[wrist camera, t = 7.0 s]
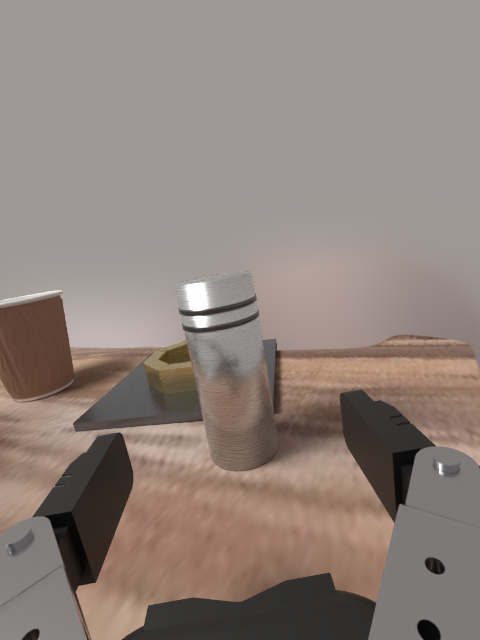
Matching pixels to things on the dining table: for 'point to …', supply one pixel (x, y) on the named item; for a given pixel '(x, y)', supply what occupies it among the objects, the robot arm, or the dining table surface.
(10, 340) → the coffee cup
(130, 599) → the dining table surface
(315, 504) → the dining table surface
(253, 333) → the piston
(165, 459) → the dining table surface
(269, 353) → the collar plate
